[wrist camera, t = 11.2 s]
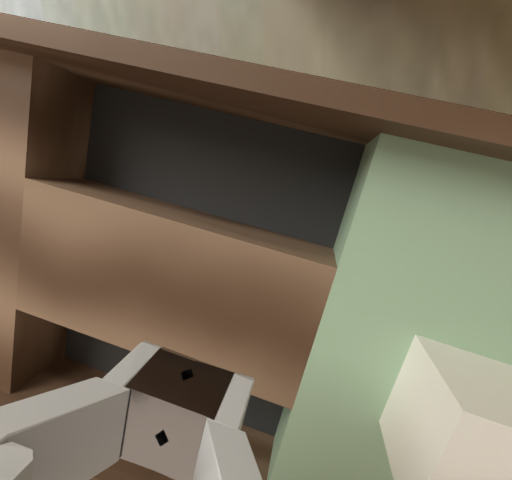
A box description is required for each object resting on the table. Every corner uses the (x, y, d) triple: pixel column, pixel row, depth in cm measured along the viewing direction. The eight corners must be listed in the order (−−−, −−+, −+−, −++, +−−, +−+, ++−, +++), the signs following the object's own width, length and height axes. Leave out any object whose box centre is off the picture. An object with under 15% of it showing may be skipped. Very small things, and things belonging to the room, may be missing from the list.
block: (415, 334, 12) (463, 410, 8) (530, 371, 11) (645, 474, 7) (378, 421, 12) (405, 528, 9) (483, 459, 12) (562, 592, 8)
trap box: (-86, 29, 18) (-278, -43, 12) (682, 198, 12) (998, 212, 7) (-83, 305, 22) (-225, 349, 16) (497, 527, 16) (592, 714, 11)
